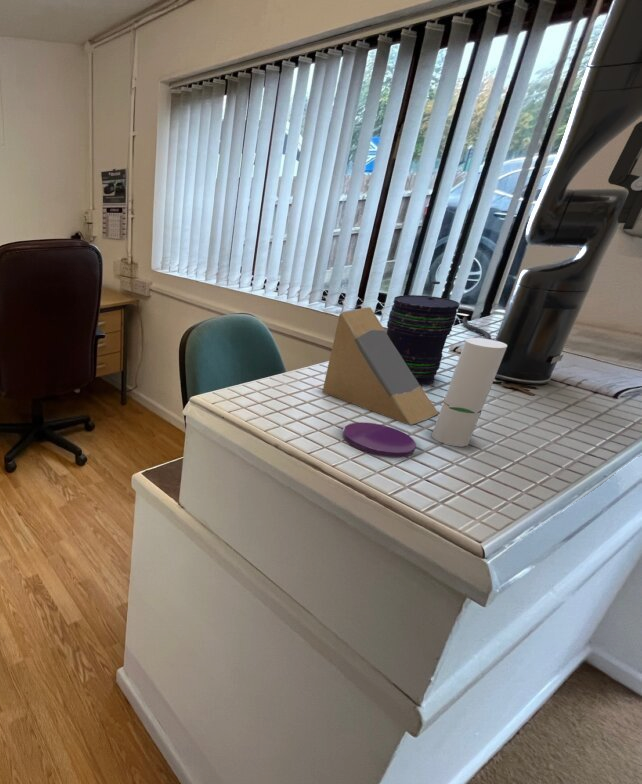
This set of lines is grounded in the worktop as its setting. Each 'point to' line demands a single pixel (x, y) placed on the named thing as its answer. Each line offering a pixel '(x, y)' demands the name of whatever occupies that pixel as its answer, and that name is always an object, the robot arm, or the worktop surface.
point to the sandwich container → (373, 371)
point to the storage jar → (421, 332)
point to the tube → (468, 390)
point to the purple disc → (379, 439)
